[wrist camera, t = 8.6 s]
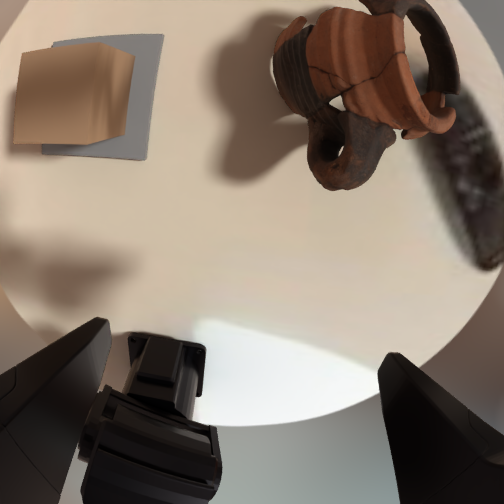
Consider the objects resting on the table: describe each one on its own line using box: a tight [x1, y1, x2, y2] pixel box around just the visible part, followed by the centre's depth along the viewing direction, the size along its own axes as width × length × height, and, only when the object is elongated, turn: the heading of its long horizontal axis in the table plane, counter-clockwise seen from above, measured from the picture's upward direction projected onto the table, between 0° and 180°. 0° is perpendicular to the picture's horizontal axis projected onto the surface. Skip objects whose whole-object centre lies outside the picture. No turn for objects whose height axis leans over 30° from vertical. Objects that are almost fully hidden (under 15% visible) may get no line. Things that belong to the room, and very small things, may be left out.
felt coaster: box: [42, 34, 164, 160], centre depth 16 cm, size 8×8×1 cm
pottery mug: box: [273, 0, 460, 191], centre depth 14 cm, size 12×10×8 cm
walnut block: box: [13, 42, 135, 145], centre depth 14 cm, size 5×5×5 cm
